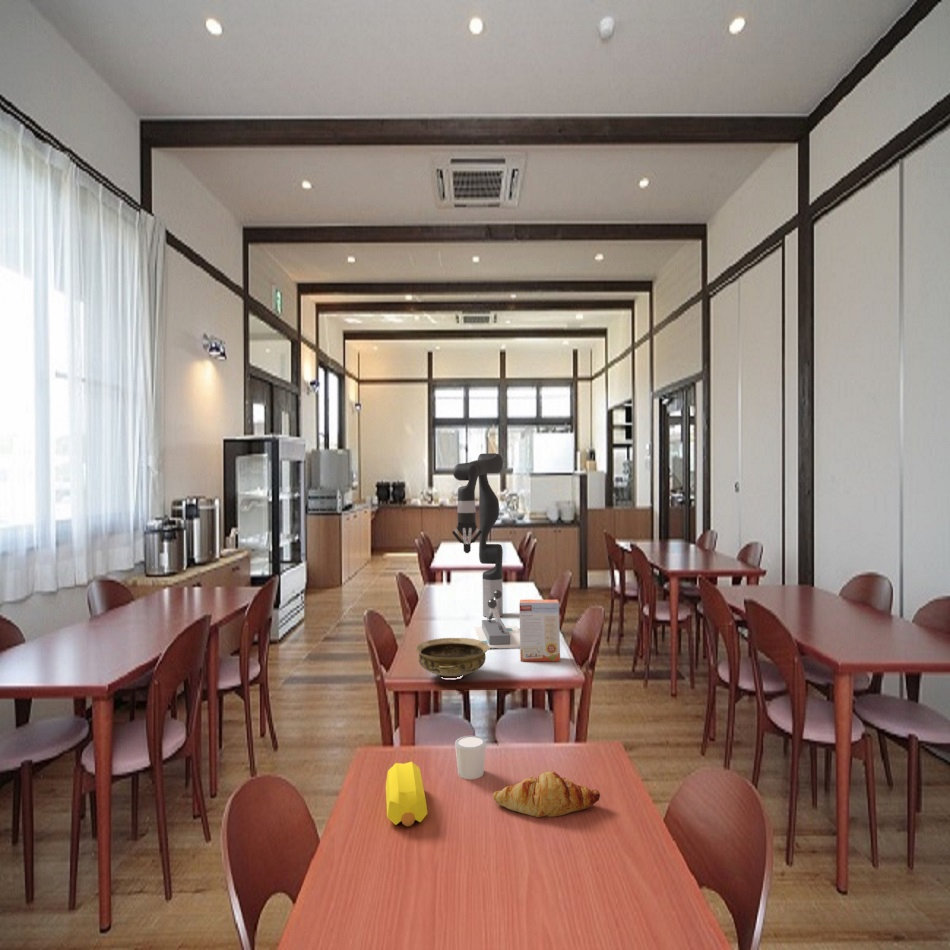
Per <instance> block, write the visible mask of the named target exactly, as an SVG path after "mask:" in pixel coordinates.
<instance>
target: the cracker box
mask: <svg viewBox="0 0 950 950" xmlns="http://www.w3.org/2000/svg"><path fill="white" fill-rule="evenodd" d="M560 628H561V627H560V602H559V599H520V600H519V630H520V648H519V649H520V650H519V652H520V653H519V654H520V656H519V657H520V662H561V637H560V633H561V631H560Z"/></svg>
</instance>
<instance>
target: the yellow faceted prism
mask: <svg viewBox="0 0 950 950" xmlns="http://www.w3.org/2000/svg"><path fill="white" fill-rule="evenodd" d="M421 772H422V771H421V768H420V767H419V766H418V765H417V764H415V763H414V762H413V761H408V762H406V763H401V762H395V763H394V764H393V766H391V767H390V768H389V769H388V770H387V774H386V783H385V799H386V800H385V803H386V818H387V819H388V820H390V821H391V822H392V823H393V824H394V825H395V826H397V825H398V824H400V823H402V825H404V826H406V827H412V825H414V823H415V821H417V822H419V823H421V822H422V821H423V820H424V818H425V817H426V816H427V815H428V814H429V813H428V807H427V800H426V794H425V789H424V788H425V787H424V783H423V777H422V773H421Z"/></svg>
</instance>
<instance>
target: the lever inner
mask: <svg viewBox="0 0 950 950" xmlns="http://www.w3.org/2000/svg"><path fill="white" fill-rule="evenodd" d="M493 596H494V600H496V602H498V599H499V598H501V597H502V592H501V591H500V590H496V591H494V593H493ZM493 618H494V617H493V612H492V609H491V608H490V611H489V614H488V617H486V620H488V622H490V621H491V620H493Z"/></svg>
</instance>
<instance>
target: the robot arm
mask: <svg viewBox="0 0 950 950" xmlns="http://www.w3.org/2000/svg"><path fill="white" fill-rule="evenodd" d="M503 462H504V461H503V457H502V456H501V454H500V453H496V452H494V453H488V452H487V453H480V454H479V455H478V457H477V459H476V460H473V461H470V462H461V463H457V464H456V465H455V466H454V467H453V471H452V474H453V477H454V478H455V480H457V481H465V482H466V481H468V482H467V484H465V485H462V486H460V487H459V486H458V489H457V525H456V528H455V529H454V530H452V531H451V533H452V535H453V536H454V537H455V539H457V541H458V542H459V543H460V544H463V552H464V553H465V554H469V553H470V552H472V551H471V548H472V547H471V544H472V543H473V544H474V543H475V542H476V541H477V539H478V538H479V542H478V543H479V544H478V545H479V547H478V558H479V562H480V564H483V565H485V564H486V565H495V566H494V567H492V568H490V569H489V570H486V571H485V570H484V571H483V572H482V616H483V617H485V616H486V617H485V618H487V617H488V614H489V611H490V608H489V607H488V601H489V600H490V599H494V596H493V593H494V591H496V590H500V591H501V592H502V597H501V598H499V599H498V602H497V606H496V608H497V610H498V613H499V616H501V617H503V616H502V615H504V604H503V602H504V600H503V599H504V597H503V590H504V589H503V555H504V554H503V553H504V551H503V546H502V544H500V543H487V539H488V536H489V534H490V533H491V531H492V528H493V527H494V526H495V524H496V523H497V520H498V519H499V516H500V501H499V499H498V497H497V495H496V493H495V492H494V490H493V489H492V487H491V485H490V482H489V480H488V479H489V478H488V474H497V473H500V472H501V470H502V469H503V466H504V463H503ZM477 481H478V490H479V491H478V495H479V497H478V500H479V501H478V503H479V504H478V515H479V516H478V517H479V528H478V526H477V521H476V515H477V512H476V510H477V509H476V499H475V498H476V497H475V495H476V494H475V491H476V487H477V486H476V485H477ZM474 533H475V535H474V536H473V534H474ZM458 534H460V535H461V536H462V538H461V537H460V536H459V535H458ZM472 536H473V537H472ZM492 618H495V617H494V614H493V617H492Z"/></svg>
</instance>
